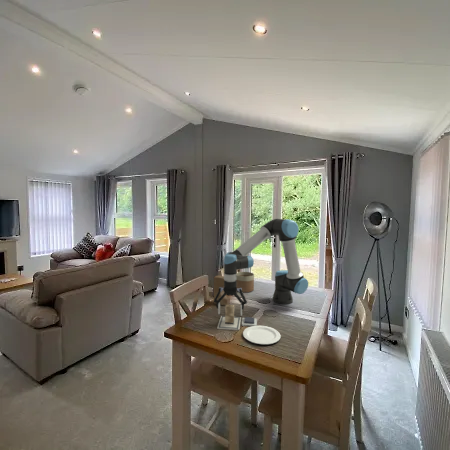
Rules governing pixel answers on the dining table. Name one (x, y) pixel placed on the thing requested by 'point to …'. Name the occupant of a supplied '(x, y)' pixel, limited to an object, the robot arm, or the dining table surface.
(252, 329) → the plate
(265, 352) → the dining table surface
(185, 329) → the dining table surface
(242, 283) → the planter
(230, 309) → the stamp
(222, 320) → the board
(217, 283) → the decorative block
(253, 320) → the ink pad
